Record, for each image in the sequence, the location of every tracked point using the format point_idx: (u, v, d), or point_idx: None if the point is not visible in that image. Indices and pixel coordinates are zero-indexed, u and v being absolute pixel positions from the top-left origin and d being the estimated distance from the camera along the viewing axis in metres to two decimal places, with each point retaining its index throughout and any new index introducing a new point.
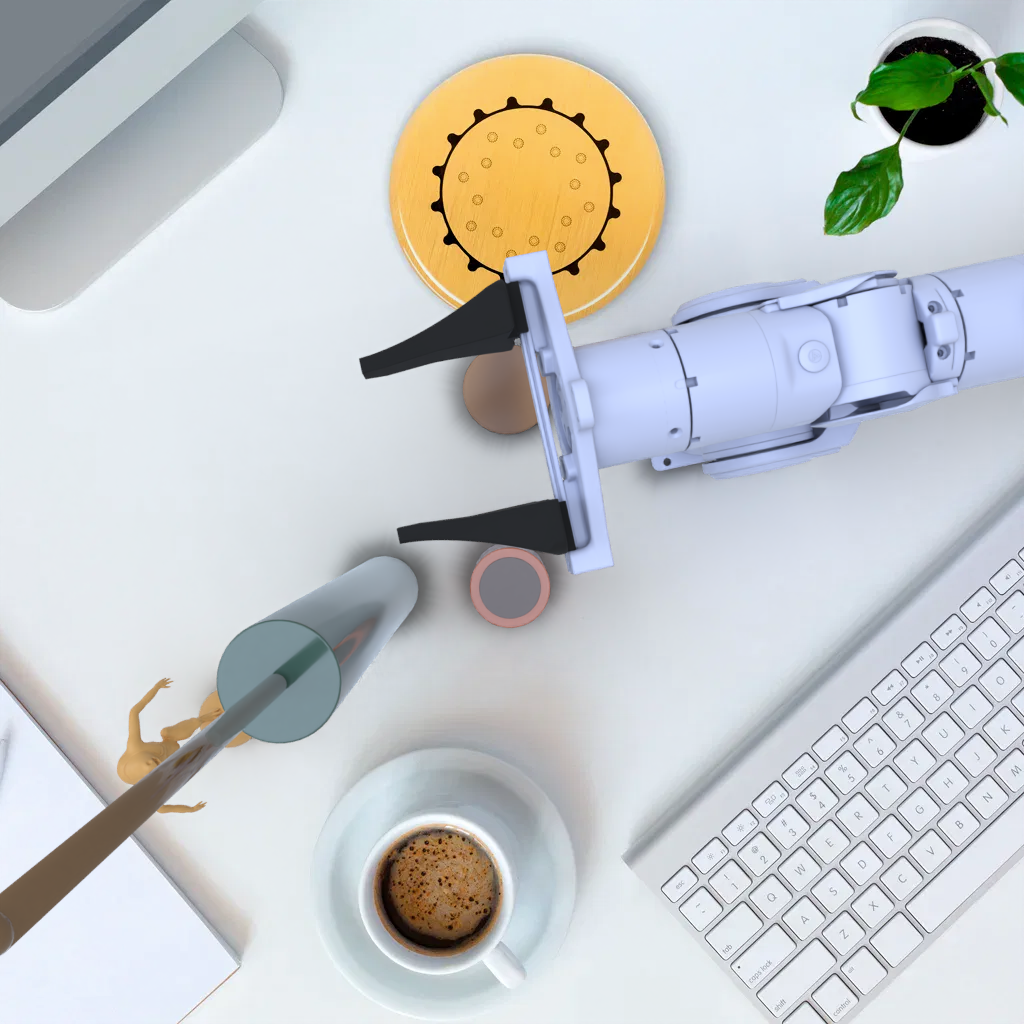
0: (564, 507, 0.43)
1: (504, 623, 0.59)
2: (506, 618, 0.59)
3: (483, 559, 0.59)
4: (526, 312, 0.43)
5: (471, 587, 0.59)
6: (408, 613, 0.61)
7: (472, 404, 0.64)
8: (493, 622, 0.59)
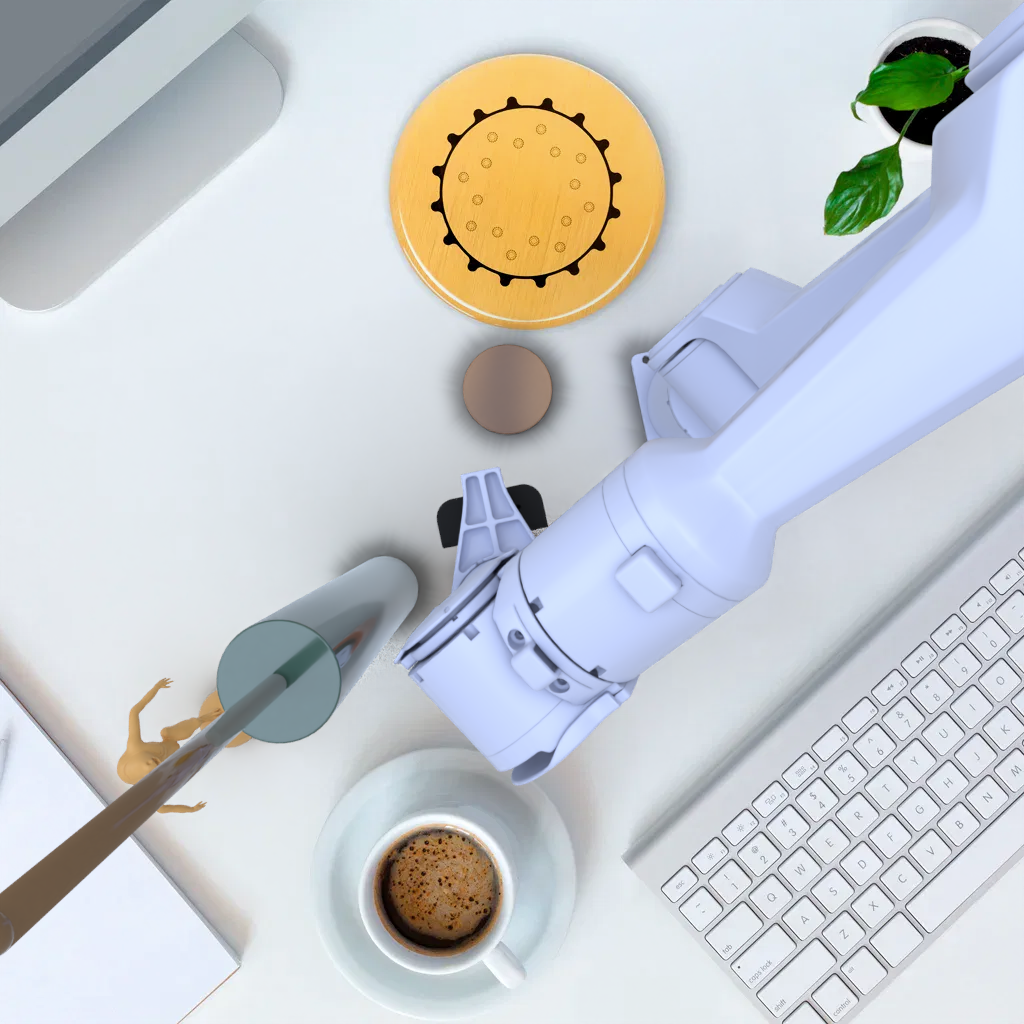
0: None
1: None
2: None
3: None
4: None
5: None
6: (408, 613, 0.61)
7: (472, 404, 0.64)
8: None
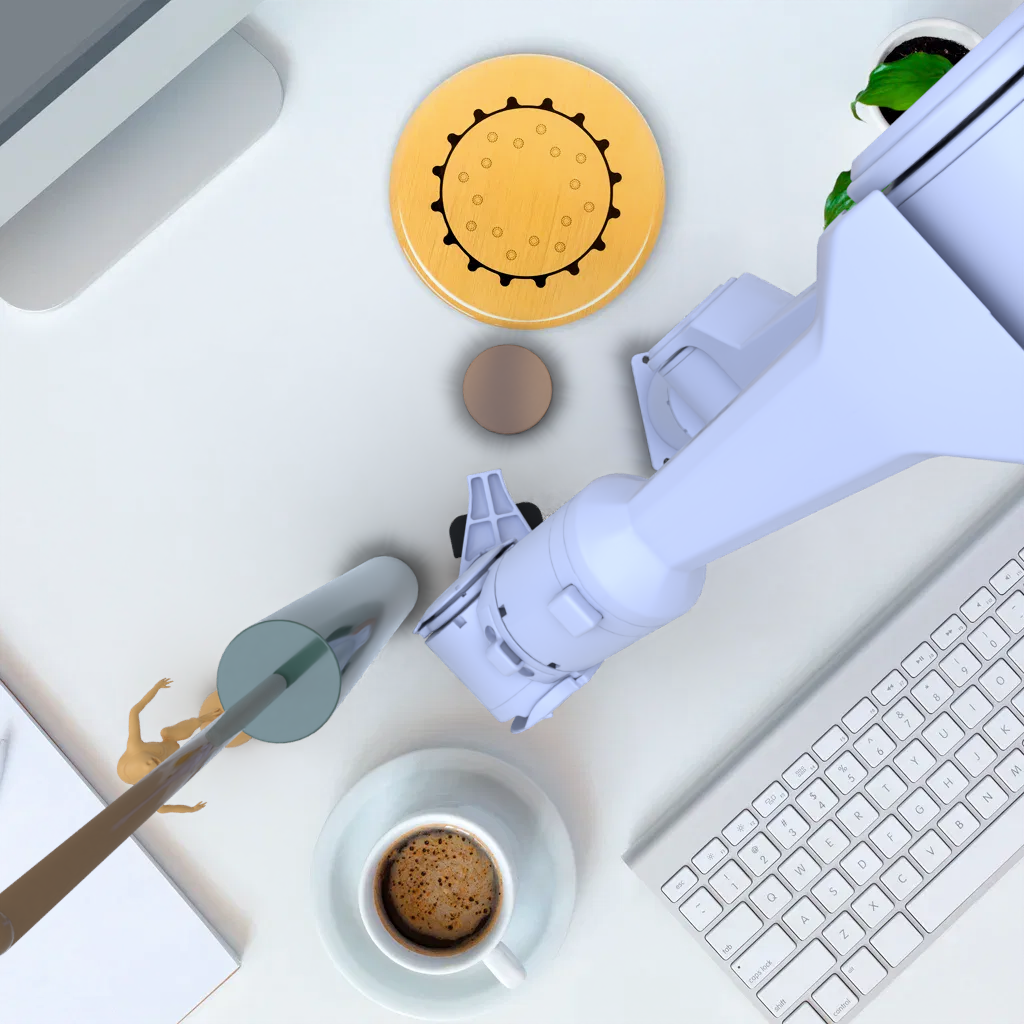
0: None
1: None
2: None
3: None
4: None
5: None
6: (408, 613, 0.61)
7: (472, 404, 0.64)
8: None
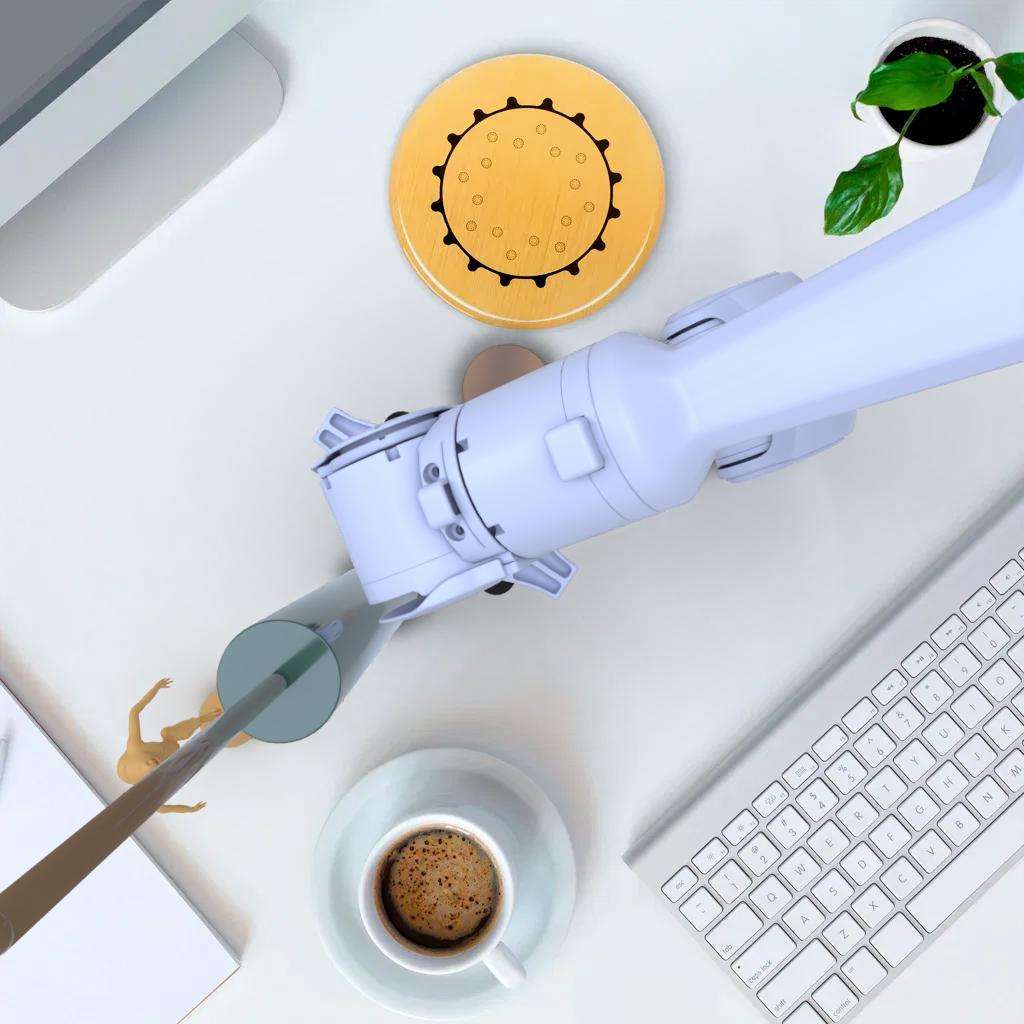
0: None
1: None
2: None
3: None
4: None
5: None
6: None
7: None
8: None
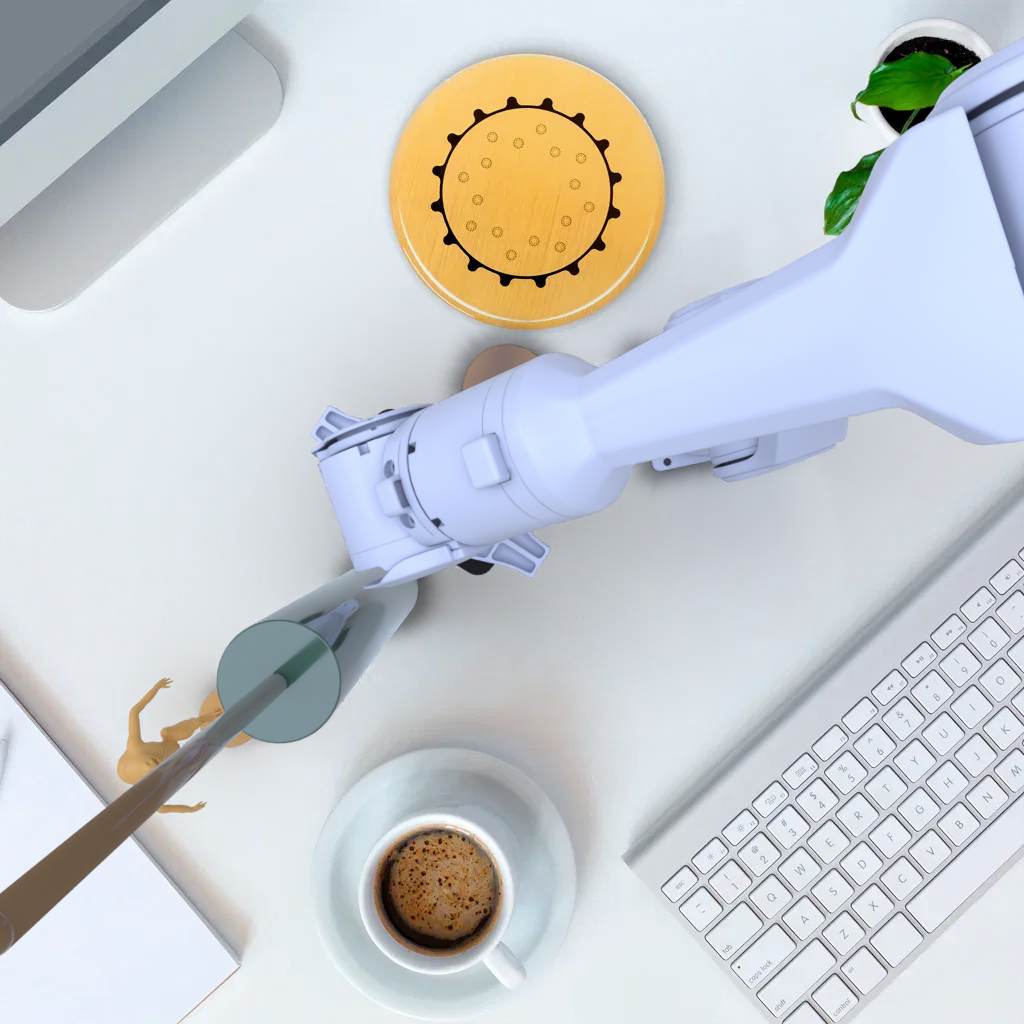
0: None
1: None
2: None
3: None
4: None
5: None
6: (408, 613, 0.61)
7: None
8: None
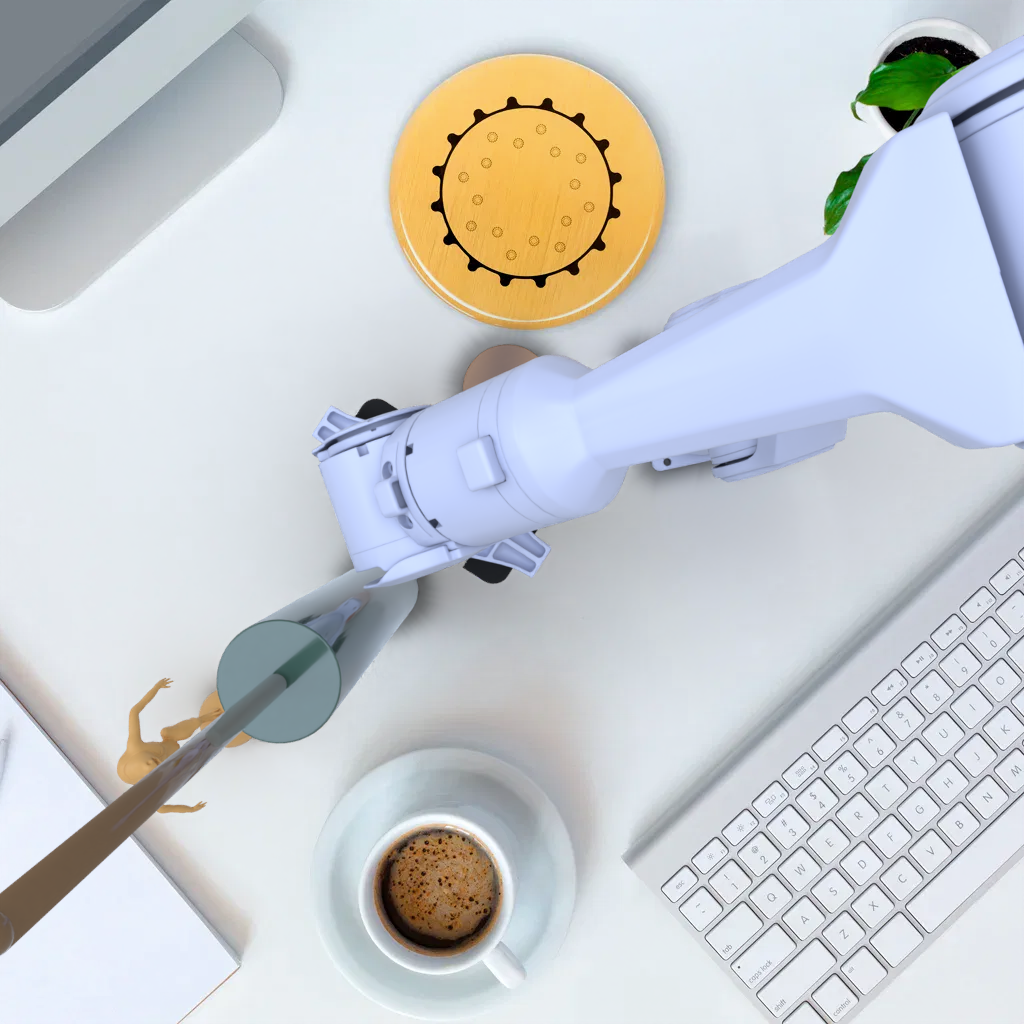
0: None
1: None
2: None
3: None
4: None
5: None
6: (408, 613, 0.61)
7: None
8: None
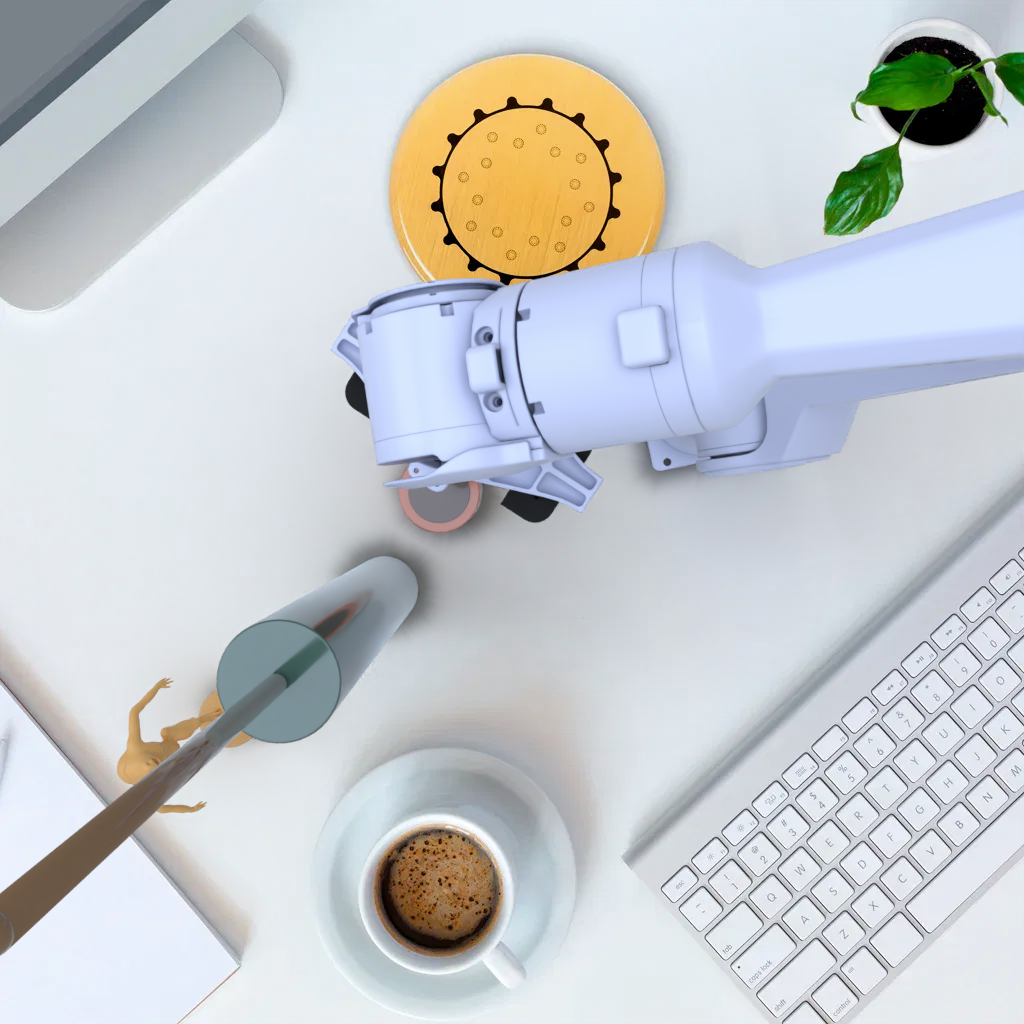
0: None
1: (460, 521, 0.59)
2: (458, 516, 0.59)
3: (400, 490, 0.59)
4: None
5: (411, 519, 0.59)
6: (408, 613, 0.61)
7: None
8: (452, 528, 0.59)
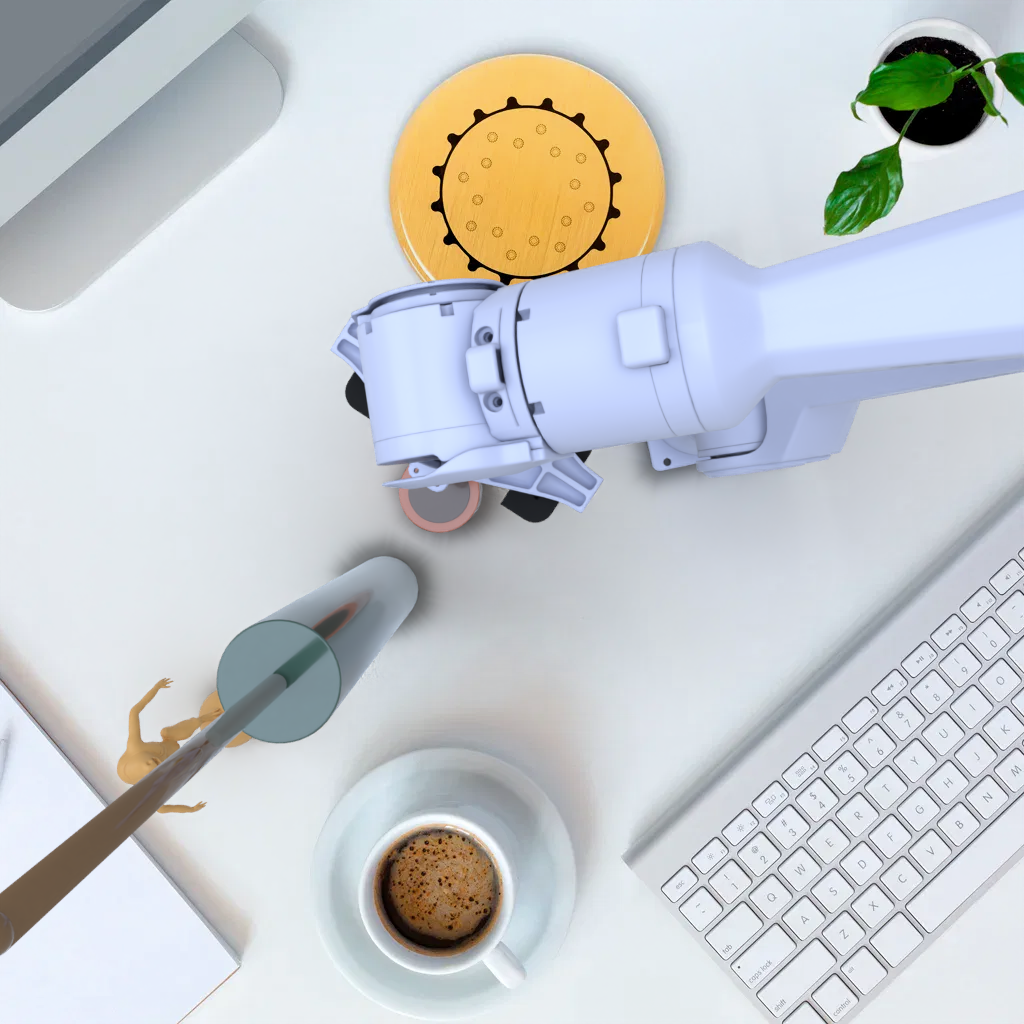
0: None
1: (460, 521, 0.59)
2: (458, 516, 0.59)
3: (400, 490, 0.59)
4: None
5: (411, 519, 0.59)
6: (408, 613, 0.61)
7: None
8: (452, 528, 0.59)
